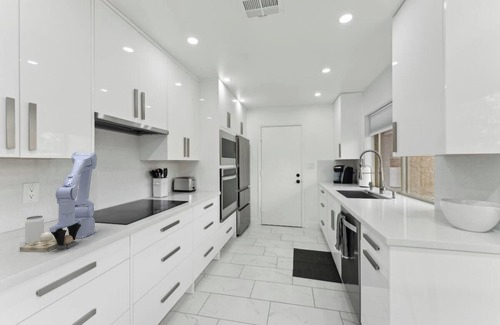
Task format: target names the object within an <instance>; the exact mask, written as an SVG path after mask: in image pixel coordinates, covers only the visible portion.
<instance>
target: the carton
mask: <svg viewBox="0 0 500 325" xmlns="http://www.w3.org/2000/svg"><path fill="white" fill-rule="evenodd" d="M57 245H58V244H57V242H55V241H53V239H51V240H49V241H41V240H39V241H36V242H33V243H30V244H25V245H23V246H20V247H19V252H22V253H24V252H26V253H31V252H32V253H33V252H34V253H48V252H50V251H53V250H54V249H57Z"/></svg>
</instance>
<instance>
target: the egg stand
mask: <svg viewBox="0 0 500 325" xmlns="http://www.w3.org/2000/svg"><path fill="white" fill-rule="evenodd" d="M75 246H77V241H76V240H74V241H72V242H71V243H70V244H67V245H62V246H58V245H57V248H56V250H69V249H71V248H73V247H75Z"/></svg>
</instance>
